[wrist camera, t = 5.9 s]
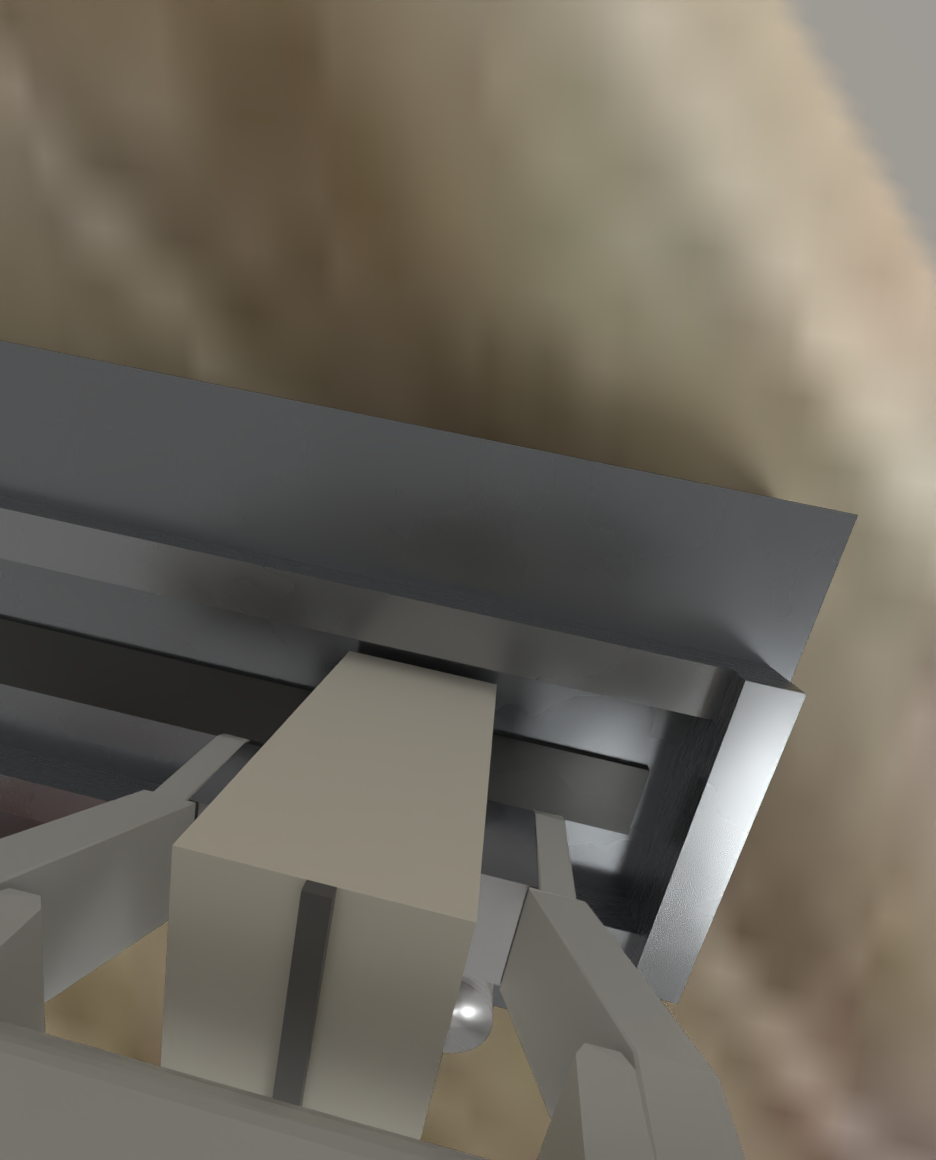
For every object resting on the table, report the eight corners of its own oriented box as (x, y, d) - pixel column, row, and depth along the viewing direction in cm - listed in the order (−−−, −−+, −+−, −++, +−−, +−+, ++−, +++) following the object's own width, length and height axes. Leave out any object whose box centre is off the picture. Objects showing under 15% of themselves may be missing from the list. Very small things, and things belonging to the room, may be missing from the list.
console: (779, 504, 11) (933, 524, 7) (620, 943, 14) (662, 1129, 10) (-261, 292, 12) (-639, 206, 8) (-186, 739, 15) (-430, 833, 11)
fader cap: (496, 684, 9) (475, 934, 4) (458, 849, 10) (404, 1209, 5) (349, 650, 9) (162, 855, 4) (325, 816, 10) (150, 1136, 5)
